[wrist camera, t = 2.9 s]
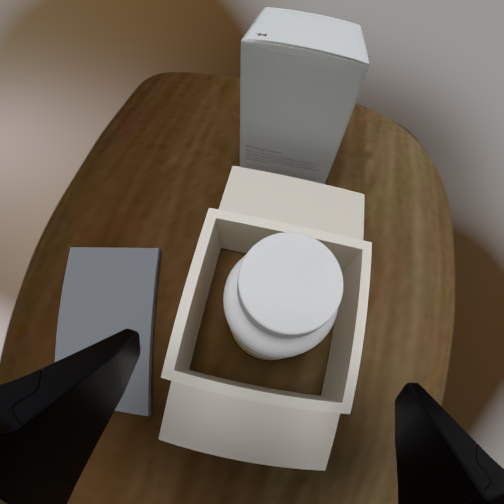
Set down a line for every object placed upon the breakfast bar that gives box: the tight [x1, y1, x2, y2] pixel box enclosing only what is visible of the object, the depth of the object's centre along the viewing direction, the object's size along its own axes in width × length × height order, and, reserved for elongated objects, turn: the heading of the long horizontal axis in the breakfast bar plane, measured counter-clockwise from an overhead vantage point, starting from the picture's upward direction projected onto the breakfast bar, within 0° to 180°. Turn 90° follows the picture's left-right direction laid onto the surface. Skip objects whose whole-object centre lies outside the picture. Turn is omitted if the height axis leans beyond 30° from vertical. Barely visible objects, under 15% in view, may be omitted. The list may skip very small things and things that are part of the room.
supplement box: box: [240, 7, 369, 184], centre depth 19 cm, size 7×7×13 cm
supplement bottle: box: [223, 232, 343, 360], centre depth 15 cm, size 5×5×10 cm
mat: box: [55, 247, 161, 416], centre depth 18 cm, size 12×8×1 cm, turn 0°
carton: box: [159, 166, 372, 471], centre depth 17 cm, size 17×10×4 cm, turn 168°
